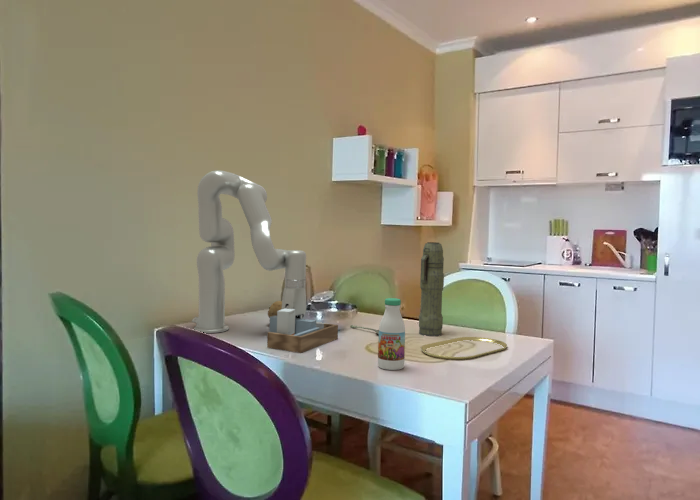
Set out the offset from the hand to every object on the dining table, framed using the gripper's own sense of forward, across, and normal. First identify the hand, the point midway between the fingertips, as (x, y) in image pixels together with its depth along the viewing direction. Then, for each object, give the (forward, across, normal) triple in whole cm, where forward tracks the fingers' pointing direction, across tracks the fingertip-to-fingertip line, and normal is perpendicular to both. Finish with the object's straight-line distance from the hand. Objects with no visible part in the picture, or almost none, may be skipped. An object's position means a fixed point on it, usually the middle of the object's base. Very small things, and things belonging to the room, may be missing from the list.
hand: (294, 333), depth 191 cm
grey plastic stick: (+1, -8, +3) cm, 9 cm away
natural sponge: (+1, -12, -15) cm, 20 cm away
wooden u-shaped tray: (+1, +8, +9) cm, 12 cm away
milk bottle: (+1, +20, +47) cm, 51 cm away
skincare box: (+1, +14, +6) cm, 15 cm away
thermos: (+1, -31, +42) cm, 52 cm away
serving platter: (+1, -14, +60) cm, 61 cm away
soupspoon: (+1, -21, +21) cm, 30 cm away
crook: (+1, +8, 0) cm, 8 cm away
